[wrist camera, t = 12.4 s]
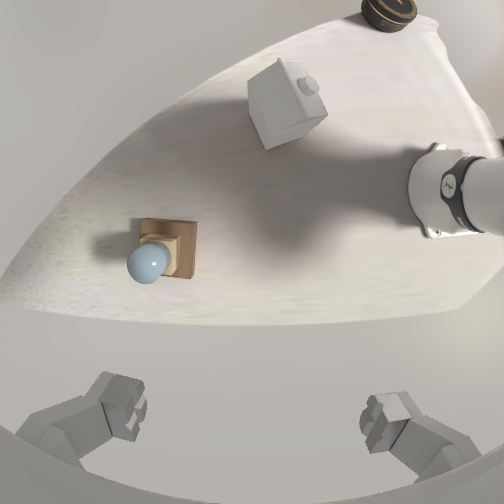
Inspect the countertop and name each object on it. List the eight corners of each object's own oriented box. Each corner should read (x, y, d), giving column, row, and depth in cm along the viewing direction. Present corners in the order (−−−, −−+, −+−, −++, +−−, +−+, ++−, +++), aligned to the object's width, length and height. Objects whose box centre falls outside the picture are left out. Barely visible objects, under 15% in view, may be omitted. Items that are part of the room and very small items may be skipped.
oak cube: (180, 235, 44) (171, 242, 39) (179, 266, 45) (171, 275, 40) (151, 233, 44) (139, 238, 39) (150, 262, 45) (139, 271, 40)
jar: (355, -5, 35) (366, -24, 28) (397, 6, 35) (412, -9, 28) (361, 28, 38) (375, 10, 30) (405, 40, 38) (423, 25, 30)
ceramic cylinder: (171, 242, 39) (160, 250, 34) (170, 274, 40) (160, 286, 35) (140, 239, 39) (126, 246, 34) (140, 270, 40) (127, 281, 35)
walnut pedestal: (197, 221, 46) (193, 224, 44) (194, 273, 48) (190, 279, 46) (146, 217, 46) (140, 220, 43) (145, 268, 48) (139, 272, 45)
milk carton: (265, 150, 44) (274, 127, 25) (248, 112, 42) (245, 67, 24) (305, 136, 43) (338, 105, 25) (288, 98, 42) (309, 49, 23)
